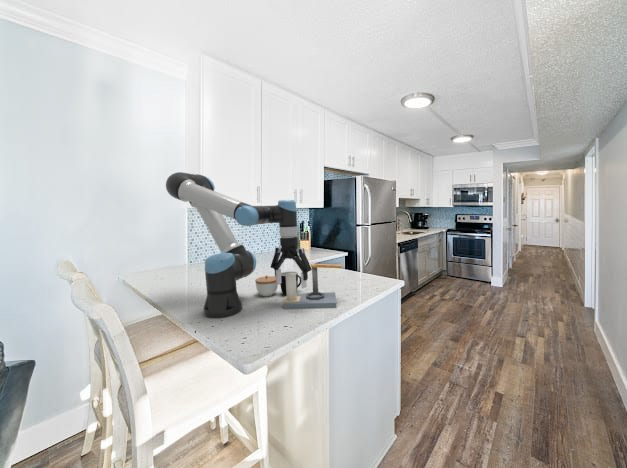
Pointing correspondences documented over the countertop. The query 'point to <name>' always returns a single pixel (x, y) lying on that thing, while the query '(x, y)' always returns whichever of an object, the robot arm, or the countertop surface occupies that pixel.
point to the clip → (325, 266)
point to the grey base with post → (312, 297)
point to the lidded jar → (266, 285)
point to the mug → (283, 279)
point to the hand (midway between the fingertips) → (291, 285)
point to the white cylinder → (291, 286)
